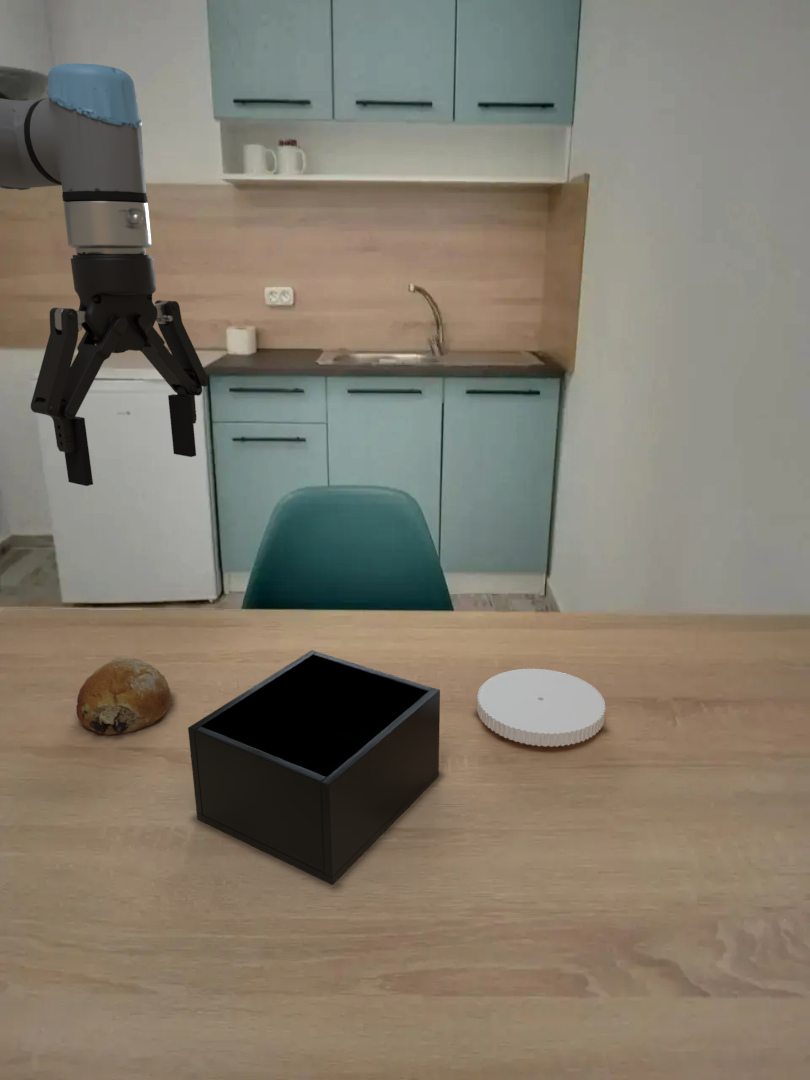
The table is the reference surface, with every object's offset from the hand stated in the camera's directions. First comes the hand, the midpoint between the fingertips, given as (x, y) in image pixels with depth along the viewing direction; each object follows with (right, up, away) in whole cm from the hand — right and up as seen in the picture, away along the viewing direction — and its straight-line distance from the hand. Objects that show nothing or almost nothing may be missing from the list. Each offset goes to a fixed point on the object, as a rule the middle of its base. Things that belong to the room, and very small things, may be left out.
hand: (136, 468), depth 86 cm
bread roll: (-4, -27, +8) cm, 29 cm away
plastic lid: (+43, -28, +7) cm, 51 cm away
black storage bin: (+20, -32, -7) cm, 38 cm away
